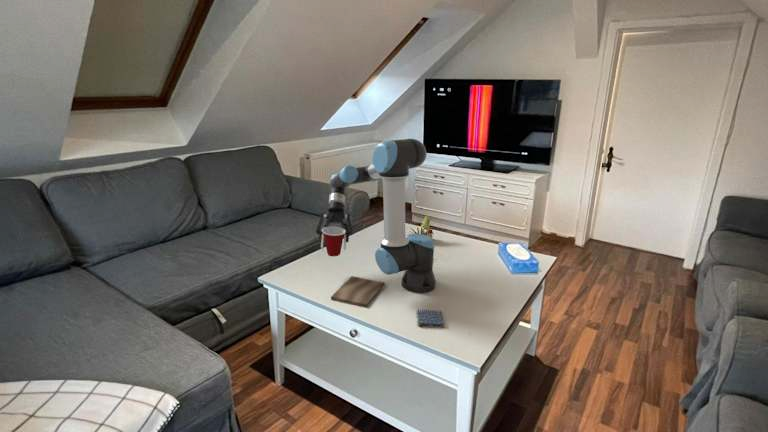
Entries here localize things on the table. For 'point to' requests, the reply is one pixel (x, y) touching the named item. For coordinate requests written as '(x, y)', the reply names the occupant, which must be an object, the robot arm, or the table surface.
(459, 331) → the table surface
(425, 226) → the chocolate bunny
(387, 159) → the robot arm
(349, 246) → the table surface
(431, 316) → the woven mat
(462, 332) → the table surface
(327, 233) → the plastic cup
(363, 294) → the walnut board
